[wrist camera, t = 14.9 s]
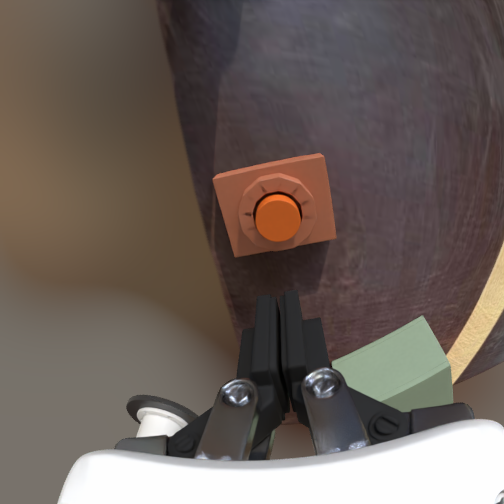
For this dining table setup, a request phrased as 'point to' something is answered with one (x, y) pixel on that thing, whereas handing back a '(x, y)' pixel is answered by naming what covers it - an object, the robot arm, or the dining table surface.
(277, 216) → the button
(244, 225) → the control block
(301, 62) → the dining table surface
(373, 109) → the dining table surface
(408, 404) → the fryer
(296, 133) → the dining table surface
